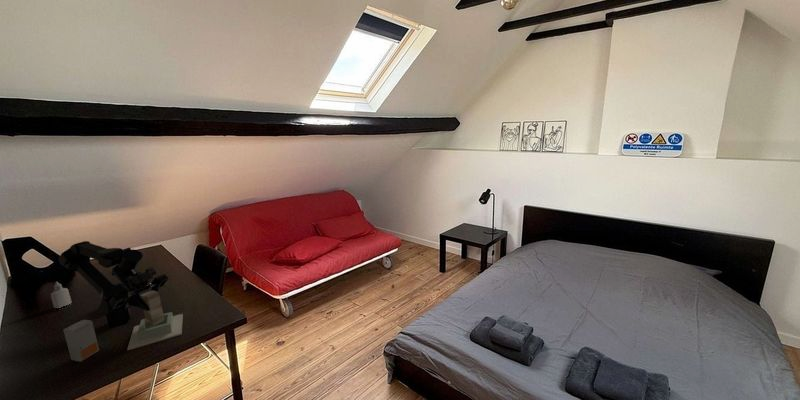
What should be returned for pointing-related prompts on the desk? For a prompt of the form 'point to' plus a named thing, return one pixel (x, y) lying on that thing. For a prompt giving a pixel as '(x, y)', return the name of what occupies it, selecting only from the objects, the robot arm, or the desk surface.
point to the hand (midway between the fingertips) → (154, 307)
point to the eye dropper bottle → (60, 296)
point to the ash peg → (152, 308)
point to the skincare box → (81, 340)
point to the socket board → (156, 331)
